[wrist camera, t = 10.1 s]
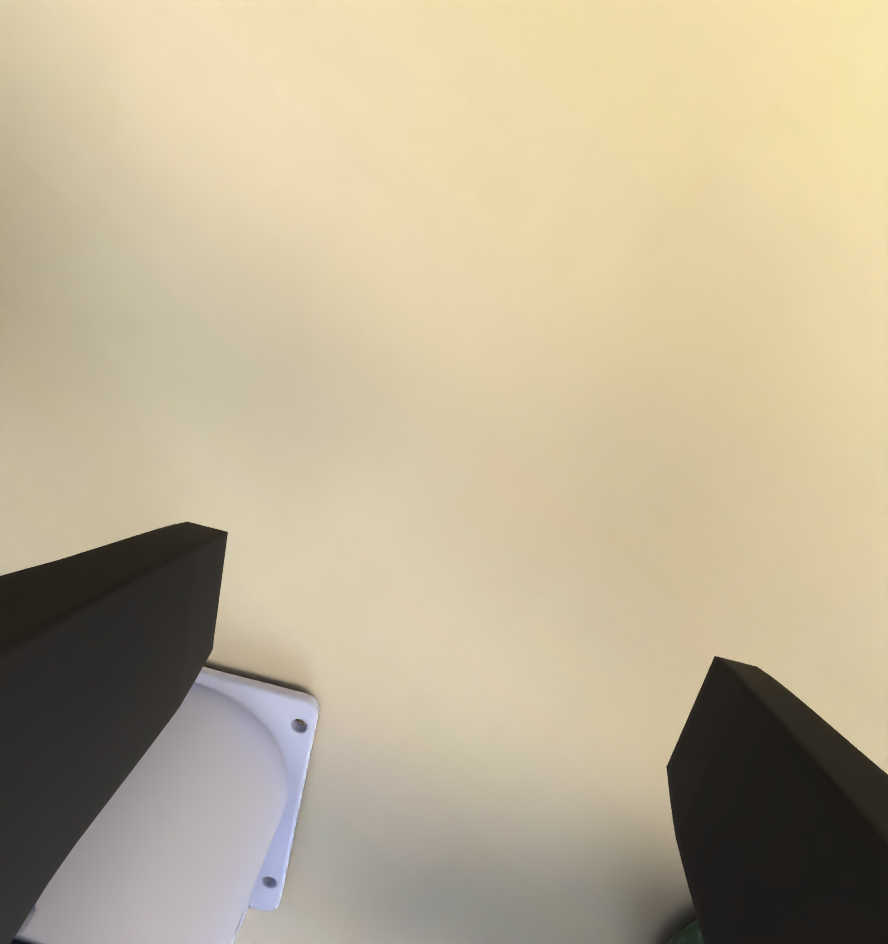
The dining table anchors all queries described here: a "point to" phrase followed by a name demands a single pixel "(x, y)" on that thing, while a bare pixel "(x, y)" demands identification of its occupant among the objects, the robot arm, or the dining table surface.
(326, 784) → the dining table surface
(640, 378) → the dining table surface
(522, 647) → the dining table surface
